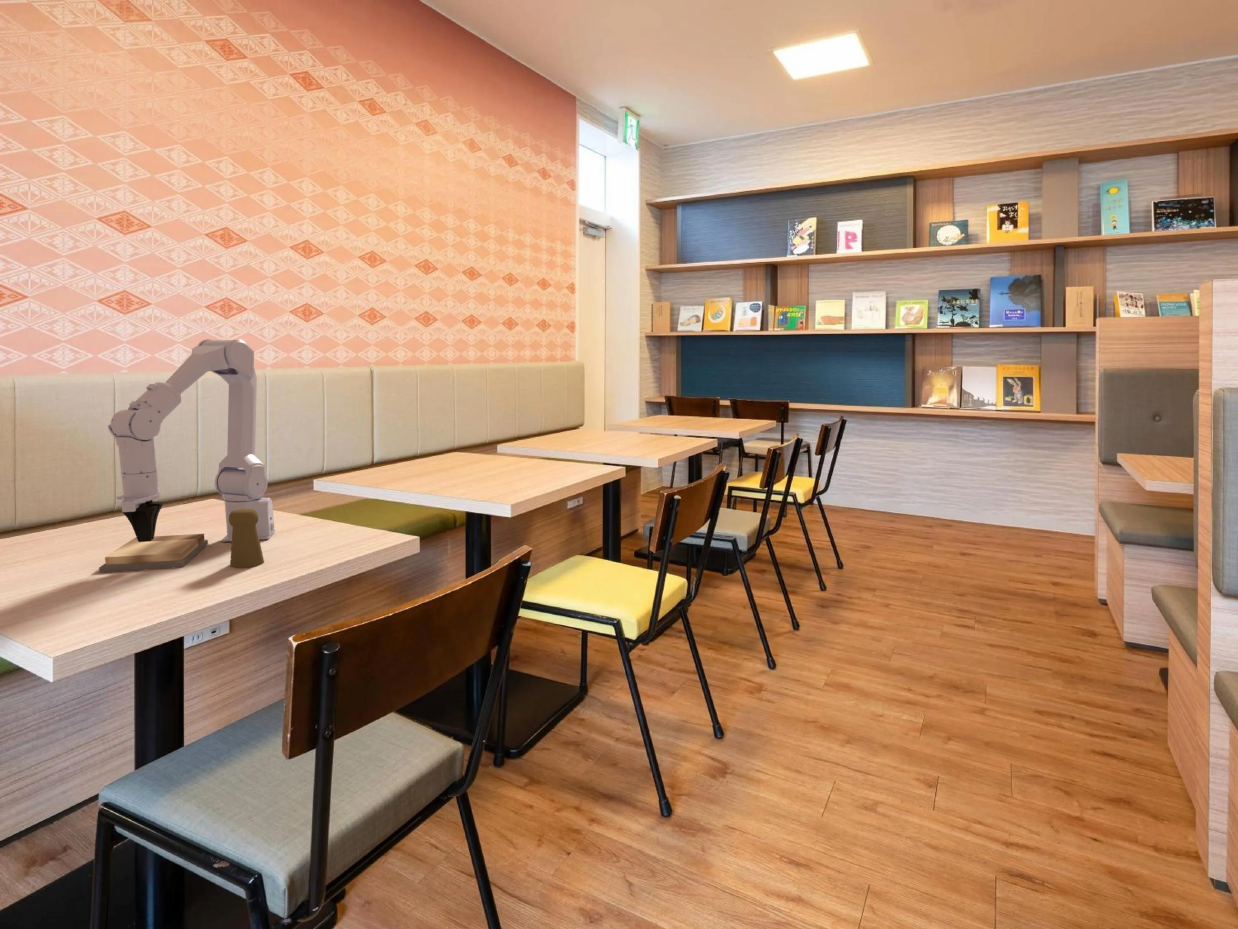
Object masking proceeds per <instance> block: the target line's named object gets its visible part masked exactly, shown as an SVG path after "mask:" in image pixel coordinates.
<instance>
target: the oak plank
mask: <svg viewBox="0 0 1238 929" xmlns="http://www.w3.org/2000/svg"><path fill="white" fill-rule="evenodd" d="M197 546H198V539H185V540H167V541H150V542H132V543H128V542H126V543H124V544H123V545H122V546H120V547H118V548H117V549H115V550H114V551H112V552H111V553H109V554H107V555H106V556H104V560H105V563H106V565H112V564H128V563H143V562H159V561H175V560H183V559H184V558H185V557H186V556H187V555H188V554H189V553H191V552H192V551H193V550H194V549H195V548H196V547H197ZM105 563H104V564H105Z"/></svg>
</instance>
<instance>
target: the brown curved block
mask: <svg viewBox="0 0 1238 929" xmlns="http://www.w3.org/2000/svg"><path fill="white" fill-rule="evenodd" d="M185 539H198V546H199V545H200V544H201V543H202V542H203V541H204V540H206V539H205V533H194V534H190V533H189V534H173V535H170V534H169V535H156V536H155V535H154V539H153V540H152V541H167V540H185ZM132 542H138V540H137V537H136V536H135V537H134V538H132V539H130V541H128V542H127V543H132ZM149 542H150V541H149Z"/></svg>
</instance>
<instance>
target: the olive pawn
mask: <svg viewBox="0 0 1238 929" xmlns="http://www.w3.org/2000/svg"><path fill="white" fill-rule="evenodd" d="M258 518H259V517H258V513H257V511H256V510H254V509H250V508H242V509H237V510H234V511H232V512H231V513H230V515H229V523H230V525H231V526H232V527H233V531H232V541H231V547H230V548H231V549H230V563H229V566H230V567H231V568H233V567H234V569H246V568H247V569H248V568H254V567H257V566H261V565H263V564H265V560H264V556H263V550H262V546H261V545H262V544H261V543H260V540H259V536H258V532H257V527H256V524H257V522H258Z"/></svg>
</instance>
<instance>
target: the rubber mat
mask: <svg viewBox="0 0 1238 929" xmlns="http://www.w3.org/2000/svg"><path fill="white" fill-rule="evenodd" d="M208 545H209V539H205V540H204V541H203V542H202V543H201V544H200V545H199V546H197V547H196V548H195V549H194V550H193V551H192V552H191V553H189V554H188V555H187V556H186V557H185V558H184V559H183V560H175V561H159V562H143V563H128V564H112V565H106V563H104V564H102V565H101V566H99V567H98V570H99V573H100V572H103V573H113V571H118V572H125V571H124V570H133V571H144V570H143V569H148V570H158V569H157V568H163V569H173V568H172V567H178V568H183V567H185V566H186V565H187V564H188V563H189V562H191V561H192V559H193V558H195V557H196V556H197V555H198V554H199V553H200V552H201V551H202V550H204V548H206V547H207V546H208ZM205 546H206V547H205ZM195 555H196V556H195ZM194 556H195V557H194ZM185 564H186V565H185ZM184 565H185V566H184Z"/></svg>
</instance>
